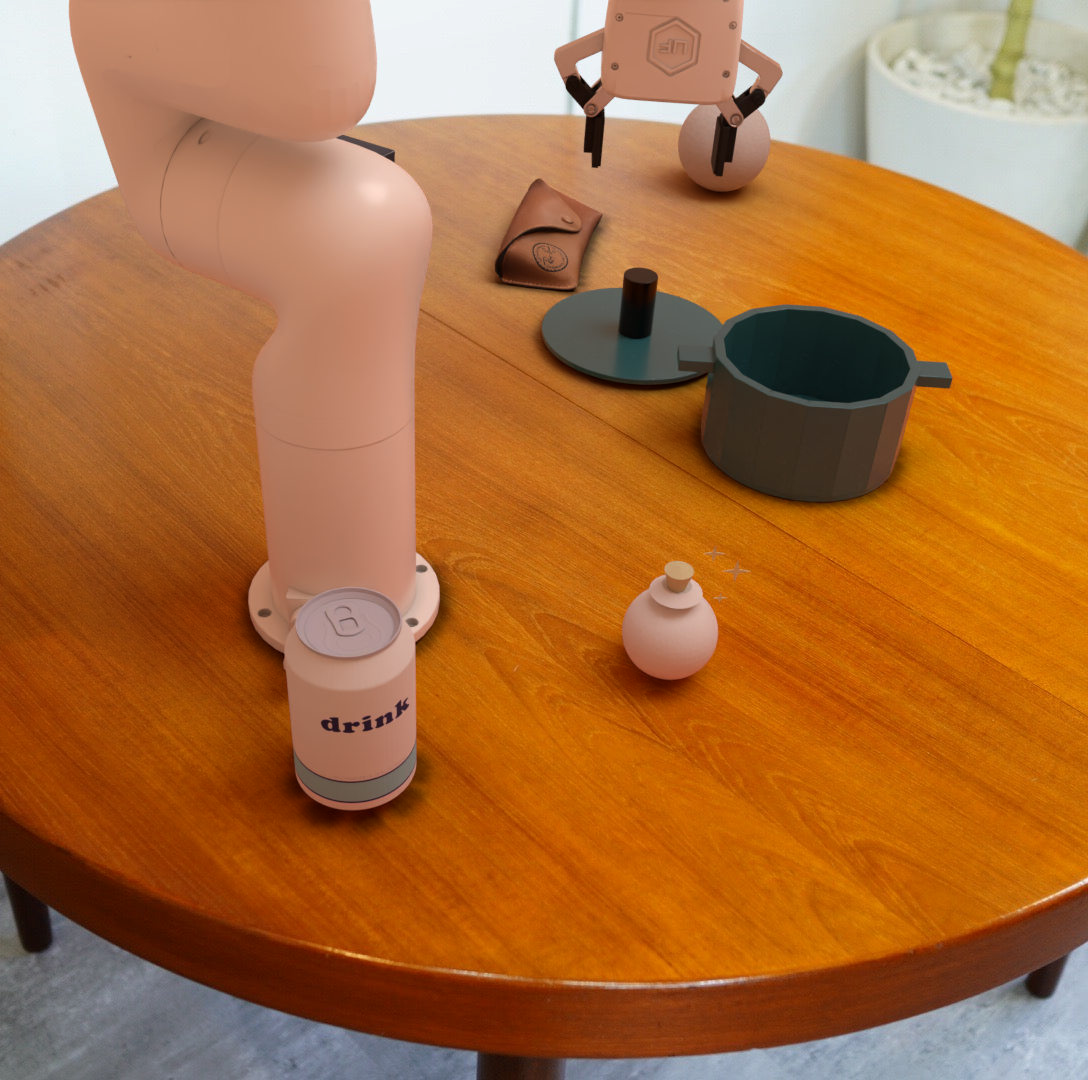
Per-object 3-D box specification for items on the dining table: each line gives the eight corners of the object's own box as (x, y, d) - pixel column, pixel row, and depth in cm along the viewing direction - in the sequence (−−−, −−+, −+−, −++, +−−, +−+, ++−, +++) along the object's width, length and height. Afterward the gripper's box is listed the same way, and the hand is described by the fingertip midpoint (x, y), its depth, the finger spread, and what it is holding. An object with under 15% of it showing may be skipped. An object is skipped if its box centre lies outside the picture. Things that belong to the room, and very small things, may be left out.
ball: (780, 189, 147) (795, 100, 141) (728, 214, 141) (742, 123, 135) (707, 162, 152) (719, 76, 146) (655, 186, 146) (664, 96, 140)
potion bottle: (613, 634, 87) (627, 514, 81) (724, 635, 88) (746, 515, 82) (623, 700, 83) (638, 577, 76) (740, 699, 83) (765, 577, 77)
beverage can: (315, 836, 73) (302, 680, 65) (282, 750, 78) (267, 595, 70) (433, 802, 75) (433, 647, 68) (394, 720, 80) (390, 567, 73)
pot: (946, 511, 100) (974, 416, 95) (671, 492, 100) (684, 397, 95) (909, 402, 113) (932, 313, 107) (664, 386, 113) (675, 296, 107)
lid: (733, 397, 112) (745, 328, 108) (537, 384, 112) (541, 314, 108) (720, 303, 125) (729, 239, 121) (544, 292, 125) (548, 227, 121)
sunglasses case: (582, 288, 125) (550, 227, 121) (517, 314, 127) (484, 256, 124) (605, 211, 139) (577, 155, 136) (546, 236, 142) (517, 182, 138)
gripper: (561, -61, 91) (546, 176, 101) (810, -43, 91) (769, 192, 102) (563, -86, 97) (548, 141, 107) (796, -69, 97) (759, 155, 108)
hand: (656, 165), depth 105 cm, fingers open, 9 cm apart
